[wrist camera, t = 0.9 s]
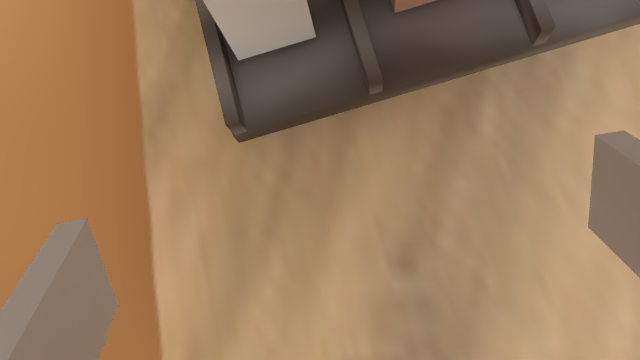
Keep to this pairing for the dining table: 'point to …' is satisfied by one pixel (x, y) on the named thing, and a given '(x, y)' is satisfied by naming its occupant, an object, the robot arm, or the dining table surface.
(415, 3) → the key terracotta
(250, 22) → the key offwhite
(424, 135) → the dining table surface
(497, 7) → the grey compartment tray
